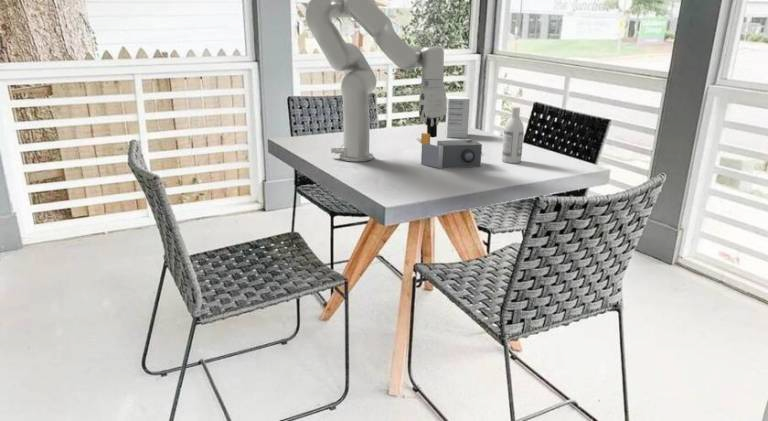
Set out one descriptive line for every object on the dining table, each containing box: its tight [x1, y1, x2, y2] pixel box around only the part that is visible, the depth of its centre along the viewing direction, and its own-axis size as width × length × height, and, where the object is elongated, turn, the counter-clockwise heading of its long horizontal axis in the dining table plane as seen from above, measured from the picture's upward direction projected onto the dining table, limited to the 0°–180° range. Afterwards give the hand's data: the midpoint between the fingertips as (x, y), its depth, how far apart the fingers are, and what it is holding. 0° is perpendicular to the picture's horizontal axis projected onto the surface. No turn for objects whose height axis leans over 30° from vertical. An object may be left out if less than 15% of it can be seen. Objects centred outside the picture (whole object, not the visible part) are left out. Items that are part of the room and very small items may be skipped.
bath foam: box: [501, 106, 524, 164], centre depth 215 cm, size 7×7×20 cm
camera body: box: [436, 138, 483, 169], centre depth 211 cm, size 14×10×9 cm
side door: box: [420, 132, 443, 170], centre depth 208 cm, size 1×9×11 cm, turn 47°
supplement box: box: [444, 95, 471, 139], centre depth 258 cm, size 10×9×17 cm
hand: (431, 136), depth 210 cm, fingers closed
